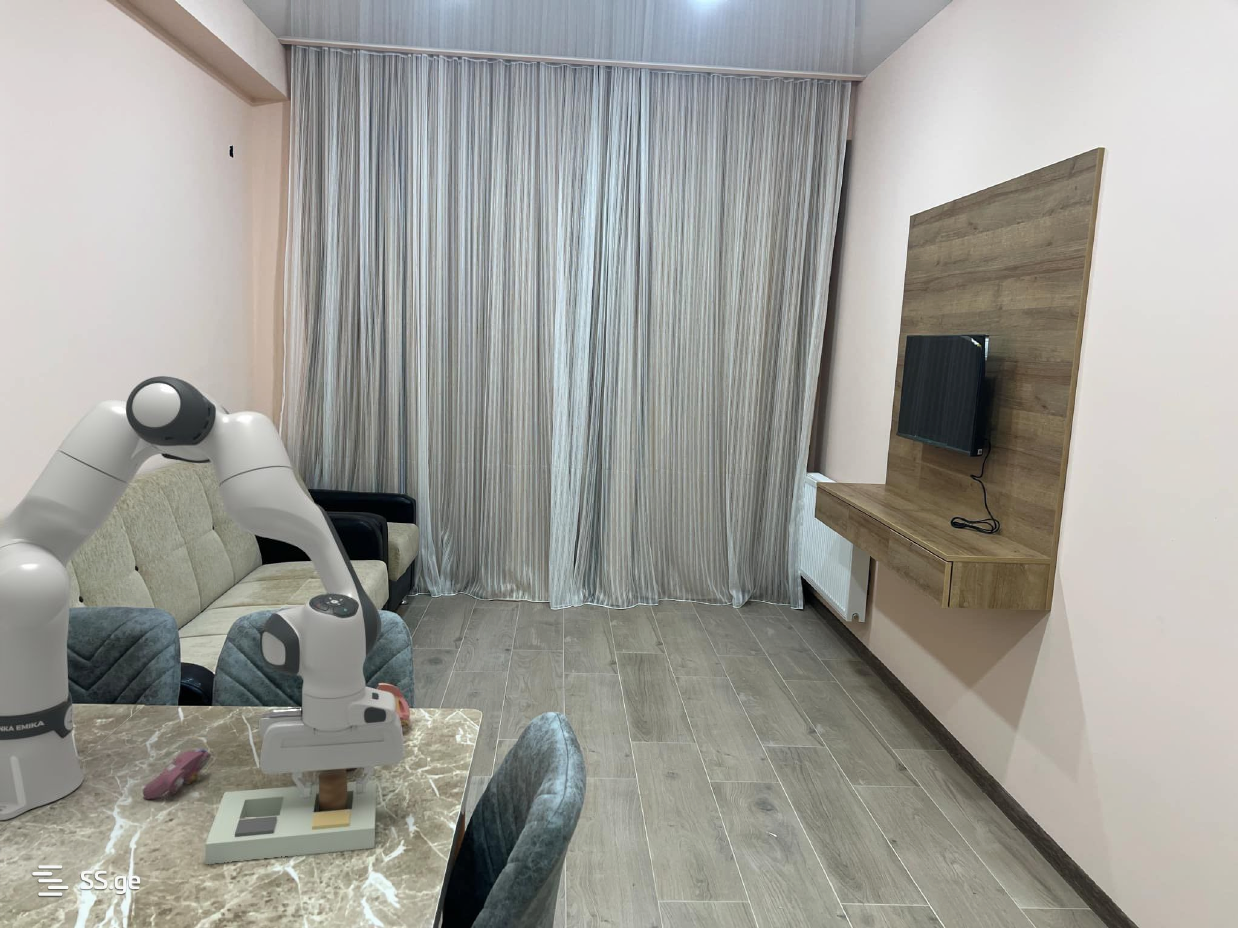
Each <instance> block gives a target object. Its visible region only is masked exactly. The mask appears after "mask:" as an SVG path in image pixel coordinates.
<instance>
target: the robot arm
mask: <svg viewBox="0 0 1238 928" xmlns="http://www.w3.org/2000/svg"><path fill="white" fill-rule="evenodd" d="M156 455H161V456H162V457H163V458H164V459H168V460H174V461H181V462H185V463H189V464H191V463H192V464H209V463H211V464H212V467H213V469H214V472H215V476H216V480H217V485H218V489H219V492H220V495H221V500H222V503H223V506H224V508H225V511H226V513H227V516H228V517H229V518H230V520H231V521H232V522H233V524H235V525H236V526H237V527H239V528H241V529H242V531H245V532H247V533H250V534H252V535H256V536H258V537H262V538H268V539H272V540H276V541H280V542H285V543H287V544H290V545H292V546H295V547H298V548H299V549H300V550H302V551H303V552H305V554H306V555H307V556H308V557H309V559H310V561H311V563H312V565H313V566H314V568H315V571H316V573H317V575H318V577H319V579H320V582H321V584H322V586H323V588H324V590H325V593H323V594H319V595H316V596H314V597H312V598H310V599H308V601H306V603H305V604H302V605H300V606H293V607H291V608H286V609H283V610H279V611H277V612H274V613H272V614H271V615H270V616H268V618H267V619H266V621H265V622H264V624H263V627H262V629H261V632H260V636H259V648H260V654H261V658H262V660H263V662H264V663H265V665H267V666H268V667H269V668H271V669H273V670H274V671H276V672H278V673H280V674H283V675H287V676H300V677H301V678H302V680H303V684H302V687H301V688H302V689H301V691H302V692H301V694H302V695H301V699H302V701H301V703H302V704H301V707H290V708H273V709H269V710H268V711H267V712H265V713H264V714H262V715H261V716H260V718H259V719H258V723H257V725H258V728H257V732H258V735H259V737H260V738H261V739H262V743H261V750H260V757H259V769H260V770H261V771H262V772H263V773H264V775H277V774H289V773H291V779H292V780H293V782H294V784H295V785H296V786H298V788H299V789H300V799H305V798H311V793H312V789H311V787H312V785H313V784H312V781H306V780H305V778H304V777H303V775H304V772H315V771H317V772H318V771H326V770H332V769H345V768H354V769H357V768H358V769H359V768H363V775H362V776H361V777H358V778H357V777H356V779H355V782H356V794H362V793H363V794H364V793H366V783H367V782H368V781H370V780H371V778H372V776H373V775H374V773H375V771H374V770H375V767H383V766H385V767H386V766H397V765H399V764H400V763H401V762H402V761H403V759H404V756H405V750H404V749H405V748H404V746H405V745H404V735H403V728H402V726H403V725H401V721H400V717H399V715H398V714H397V712H396V702H395V698H394V695H393V694H392V693H390V692H386V691H382V690H378V689H377V688H373V687H369V686H366V680H365V676H364V663H365V660H366V656H368V655H369V654H370V653H371V652H372V651H373V649H374V647H375V646H376V644H377V642H378V641H379V638H380V636H381V631H382V619H381V618H382V617H381V615H380V613H379V611H378V609H377V606H375V604H374V602H373V601H372V600H371V598H370V597H369V594H367V592H366V590H365V589H364V587H363V585H362V583H361V582H360V578H359V577H358V575H357V572H356V570H355V568H354V567H353V564H352V561H351V559H350V557H349V555H348V554H347V551H346V549H345V547H344V545H343V543H342V541H341V539H340V537H339V534H338V532H337V530H336V528H335V526H334V524H333V522H332V520H331V518H330V517H329V515H328V514H327V512H326V511H325V509H324V508H323V507H322V506H320V505H319V504H318V503H315V502H314V501H312V500H311V499H310V498H309V497H308V495H307V494H306V493H305V492H304V490H303V489H302V487H301V486H300V484H299V482H298V481H297V479H296V477H295V473H294V470H293V466H292V464H291V461H290V457H289V455H288V453H287V449H286V448H285V445H284V442H283V440H282V438H281V436H280V434H279V432H278V430H277V428H276V427H275V424H274V423H273V421H272V419H270V417H268V416H267V415H265V414H263V413H261V412H257V411H247V410H245V411H238V412H234V413H230V412H229V411H228V410H227V409H226V408H225V407H224V406H222V405H220V404H219V402H218V401H216V400H215V399H214V398H213V397H212V396H211V395H210V394H208V393H206V392H204V391H203V390H200V389H198V388H196V387H195V386H193V384H191V383H189V382H187V381H185V380H183V379H180V378H178V377H177V378H176V377H172V376H165V375H163V376H162V375H161V376H160V375H159V376H154V377H149V378H147V379H145V380H143V381H141V382H140V383H139V384H137V385H136V386H135V387H134V388H133V389H132V391H131V392H130V394H129V395H128V398H127V400H126V401H124V400H120V399H106V400H102V401H100V402H98V403H97V404H94V406H93V407H92V408H91V409H90V410H89V411H88V412H87V413H86V414H84V416H82V418H81V419H80V420H79V421H78V422H77V423H76V424H75V426H74V427H73V428H72V429H71V431H70V432H68V434H67V435H66V436H65V438H64V440H63V441H62V442H61V443H60V445H59V446H58V448H57V449H56V451H55V452H54V454H53V455H52V457H51V458H50V460H48V462H47V464H46V466H45V467H44V469H42V471H41V473H39V475H38V478H37V479H36V480H35V482H34V483H33V485H32V486H31V488H30V489H29V490H28V492H27V493H26V495H25V496H24V497H23V499H22V500H21V501H20V502H19V503H18V505H16V507H14V509H13V510H12V511H11V513H9V515H8V516H7V517H5V519H4V520H3V522H2V523H1V524H0V821H6V820H10V819H13V818H15V817H17V816H19V815H21V814H23V813H25V812H27V811H29V810H31V809H34V808H38V807H42V806H44V805H47V804H49V803H52V802H55V801H57V800H59V799H61V798H63V797H66V796H67V795H69V794H71V793H72V792H73V791H75V790H77V788H79V787H80V786H81V784H82V783H83V782H84V779H85V774H84V772H83V770H82V768H81V765H80V762H79V759H78V756H77V753H76V748H75V743H74V738H73V732H72V731H73V728H74V722H75V721H74V719H75V718H74V717H75V716H74V714H75V713H74V706H73V698H72V694H71V692H70V691H69V678H68V677H69V676H68V673H69V672H68V635H69V623H70V621H69V620H70V601H71V600H70V597H71V596H70V588H71V586H70V585H71V584H70V583H71V582H70V577H69V573H68V571H67V570H66V568H67V566H68V564H69V563H70V561H71V560H72V559H73V558H74V556H75V555H76V554H77V553H78V552H79V551H80V550H81V548H82V547H83V546H84V545H85V544H86V542H88V540H89V539H90V538H91V537H92V536H93V535H94V534H95V533H97V532H98V531H99V530H101V529H102V527H103V526H104V525H105V522H106V521H107V520H108V518H109V517H110V515H111V514H112V512H113V511H114V509H115V507H116V506H117V505H118V503H119V501H120V500H121V498H122V497H123V495H124V493H125V492H126V490H127V489H128V487H129V486H130V484H131V482H132V481H133V479H134V477H135V476H136V474H137V473H138V471H139V470H140V468H141V467H142V466H143V464H144V463H145V462H146V461H147V460H148V459H149V458H151V457H153V456H156Z"/></svg>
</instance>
